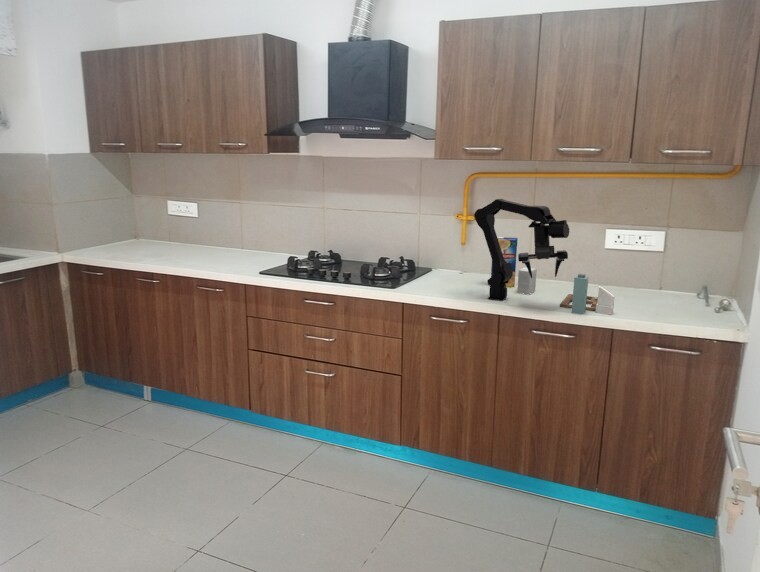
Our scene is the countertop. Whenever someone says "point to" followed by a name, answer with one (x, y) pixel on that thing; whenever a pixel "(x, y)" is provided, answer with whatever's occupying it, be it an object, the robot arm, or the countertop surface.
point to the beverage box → (508, 255)
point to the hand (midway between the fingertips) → (543, 277)
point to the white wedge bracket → (605, 302)
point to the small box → (526, 281)
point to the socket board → (592, 301)
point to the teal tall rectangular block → (580, 294)
